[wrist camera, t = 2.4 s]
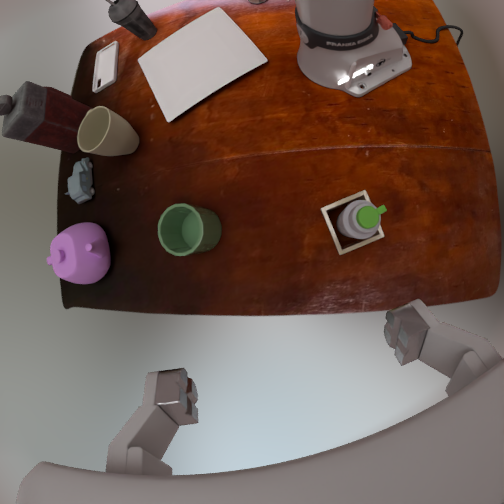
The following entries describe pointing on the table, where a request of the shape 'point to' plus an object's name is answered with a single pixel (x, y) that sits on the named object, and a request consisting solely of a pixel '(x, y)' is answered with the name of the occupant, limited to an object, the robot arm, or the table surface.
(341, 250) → the ivory holder
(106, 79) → the phone case
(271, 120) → the table surface
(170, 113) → the plate
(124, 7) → the beverage cup
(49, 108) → the red grey decanter
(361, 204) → the bottle
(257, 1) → the beer can
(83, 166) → the toy car
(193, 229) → the green cup
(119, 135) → the mug
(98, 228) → the teapot
